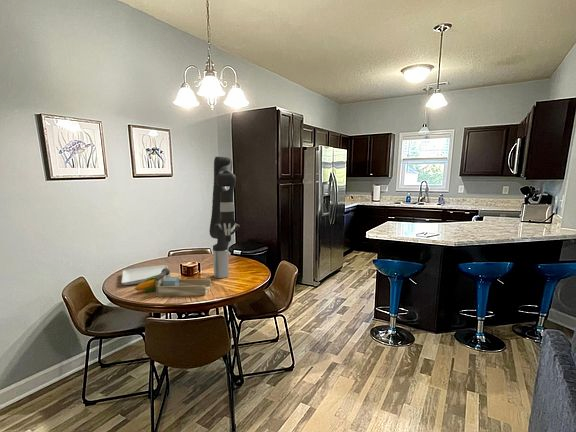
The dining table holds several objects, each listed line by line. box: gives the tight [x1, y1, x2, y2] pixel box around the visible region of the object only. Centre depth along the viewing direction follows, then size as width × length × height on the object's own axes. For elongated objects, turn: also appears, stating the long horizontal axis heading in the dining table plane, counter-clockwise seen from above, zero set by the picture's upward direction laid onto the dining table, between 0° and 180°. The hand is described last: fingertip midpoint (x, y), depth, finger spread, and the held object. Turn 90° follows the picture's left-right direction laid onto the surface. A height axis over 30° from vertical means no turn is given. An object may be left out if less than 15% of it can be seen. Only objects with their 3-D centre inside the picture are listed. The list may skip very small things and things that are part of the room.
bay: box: [155, 267, 212, 297], centre depth 169 cm, size 13×28×11 cm, turn 91°
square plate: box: [120, 264, 172, 286], centre depth 194 cm, size 27×27×4 cm
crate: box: [162, 276, 180, 286], centre depth 168 cm, size 7×7×6 cm
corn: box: [134, 275, 158, 293], centre depth 172 cm, size 7×8×20 cm
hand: (228, 241), depth 168 cm, fingers closed
